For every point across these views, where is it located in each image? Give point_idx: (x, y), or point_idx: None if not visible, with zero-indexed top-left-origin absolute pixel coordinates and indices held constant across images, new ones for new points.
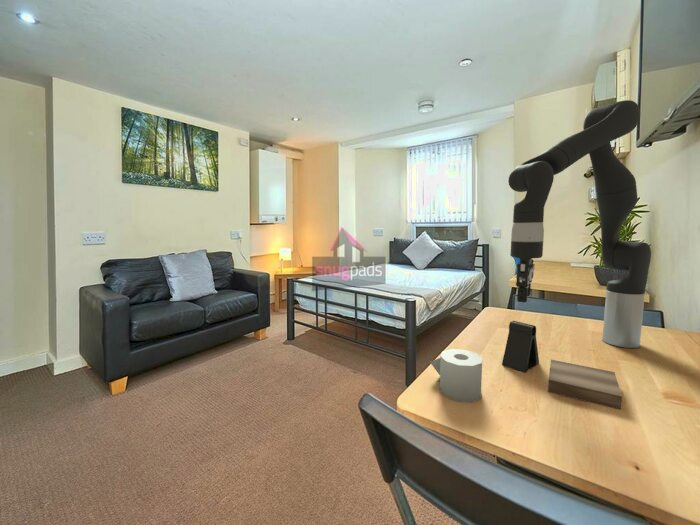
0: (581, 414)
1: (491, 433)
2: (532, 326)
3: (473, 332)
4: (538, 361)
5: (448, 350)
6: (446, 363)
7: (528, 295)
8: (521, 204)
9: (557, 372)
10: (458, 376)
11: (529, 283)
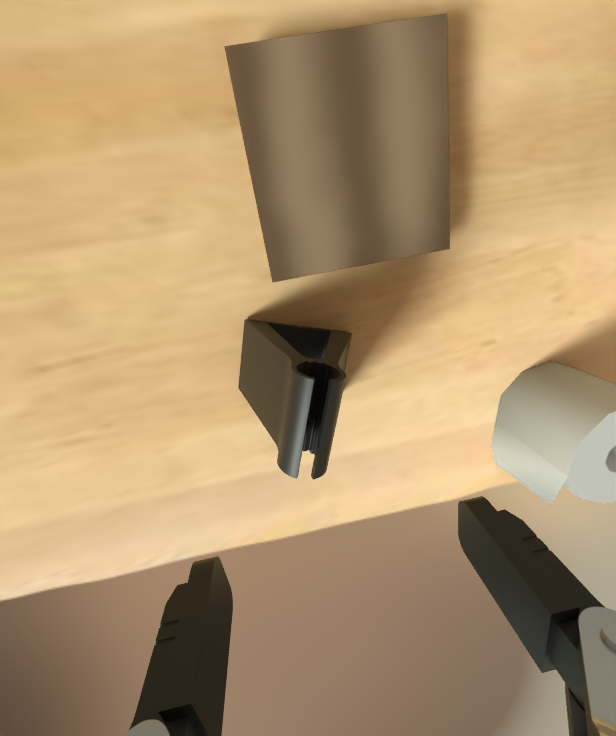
0: (508, 147)
1: None
2: (333, 384)
3: (134, 555)
4: (251, 321)
5: (594, 497)
6: None
7: (217, 564)
8: None
9: (377, 237)
10: None
11: (186, 712)
